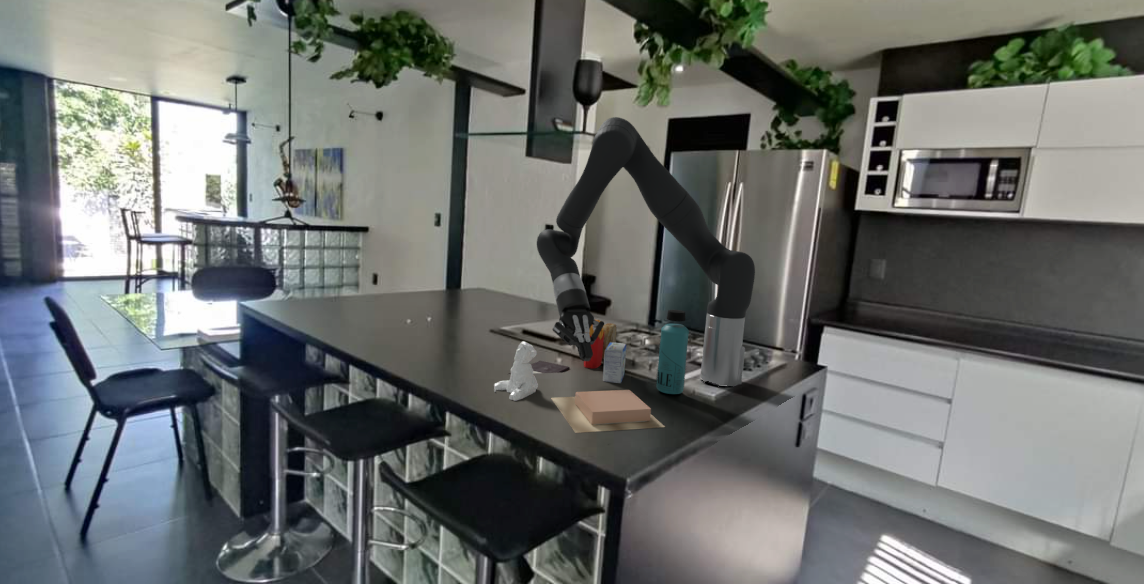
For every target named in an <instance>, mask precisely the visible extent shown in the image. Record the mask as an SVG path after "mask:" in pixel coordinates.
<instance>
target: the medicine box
mask: <svg viewBox="0 0 1144 584" xmlns="http://www.w3.org/2000/svg"><path fill="white" fill-rule="evenodd" d="M626 353H627V344H626V343H623V342H616V343H609V345H608V347H607V348H606V350H605V355H604V358H603V373H602V381H603V382H606V383H615V384H622V381H623V379H624V377H625V369H626V368H625V367H626V356H627V354H626Z"/></svg>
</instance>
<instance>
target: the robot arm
mask: <svg viewBox="0 0 1144 584" xmlns="http://www.w3.org/2000/svg"><path fill="white" fill-rule="evenodd" d="M592 141H593V142H592V144H591V145H592V146H591V148H590V152H589V155H588V159H587V162H586V164H585V167H584V169H583V171H582V173H581V176H580V177H579V179H578V181H577V183H576V184H575V185H574V187H573V188H572V190H571V191H570V192H569V194H568V196H567V198H566V199H565V201H564V203H563V205H562V206H561V209H560V210H559V212H558V214H557V216H556V219H555V223H556V226H557V227H558V228H559V229H560V230H555V229H550V228H549V229H548V228H547V229H544V230H542V231H540V233H539V234H538V235H537V239H536V249H537V251H538V255H539V256H540V257H539V258H540V259H541V260H542V261H543V263H544V265H545V267H546V268H547V270H548V271H549V273H550V277H551V282H552V286H553V294H554V298H555V302H556V306H557V311H558V315H559V319H558V321H556V322H555V323H554V325H553V327H552V331H553V332H554V333H555V334H556V335H557V336H558V337H560V339H561V340H562V341H564V342H565V343H566V344H567V345H568V346H570V347H571V346H575V347H576V348H577V352H578V356H579V359H581V360H582V362H584V361H590V359H591V358H592V356H593V351H592V348H591V345H592V344H593V343H594V342H595V340H596V339H597V337H598V335H599V333H600V331H601V330H602V328H603V326H604V325H605V322H604V321H602V320H600V322H598V321H596V320H597V319H596V318H595V316H594V314H592V312H591V306H590V303H589V299H588V295H587V290H586V289H585V288H586V287H585V286H584V283H583V280H582V277H581V275H580V274H581V273H580V271H579V268H578V264H577V261H575V260H574V259H573V258H572V257H574V256H575V255H576V254H577V251H578V247H579V242H580V239H581V235H582V232H583V228H584V227H585V226H586V224H587V222H588V220H589V219H590V217H591V215H592V213H593V212H594V210H595V207H596V206H597V204H598V202H599V200H600V198H601V196H602V195H603V193H604V191H605V190H606V188H607V187H608V186H609V184H610V182H611V181H612V180H613V179H614V178H615V176H616V175H617V174H618V173H619V172H620V171H621V170H622V168H623V169H624V170H625V171H627V173H628V174H629V175H630V176H631V178H632V179H633V180H634V182H635V185H636V186H637V188H638V190H639V192H640V195H641V196H642V199H643V201H644V202H645V204H646V206H647V207H648V210H649V211H650V212H651V213H652V215H653V216H654V217H655V218H656V219H657V220H658V222H659V223H660V224H661V225H662V226H663V227H664V229H666V230H667V231H668V232H669V233H670V234H671V235H672V237H674V238H675V240H677V242H679V243H680V245H682V246H683V247H684V248H685V249H686V250H687V251H688V252H689V254H690V255H691V256H692V258H694V260H695V262H696V263H697V264H698V265H699V267H700V269H701V270H702V271H703V273H704V274H705V276H706V277H707V278H708V279H709V280H710V281H711V282H712V283H713V284H715V285H717V286H718V287H717V288H718V289H717V294H716V296H715V299H713V300H710V301H709V302H708V303H707V308H706V309H707V310H706V318H705V329H704V336H703V337H704V339H703V348H702V358H701V365H700V366H701V367H700V376H701V378H702V379H703V380H704V381H709V382H712V383H716V384H720V385H727V386H733V387H736V386H738V385H742V380H743V372H744V365H745V364H744V363H745V354H746V348H745V346H743V340H744V329H745V323H746V322H745V320H746V314H747V310H748V309H749V307H750V305H751V301H752V295H753V291H754V290H753V289H754V284H755V278H756V277H755V276H756V266H755V263H754V260H753V258H752V256H750V254H748V253H746V252H742V251H738V250H733V249H732V250H731V249H729V248H727V247H726V246H724V245H723V243H721V242H720V241H719V240H718V239H717V238H716V237H715V235H714V234H712V232H711V231H710V229H709V227H708V225H707V222H706V219H705V217H704V214H703V211H702V209H701V207H700V205H699V204H698V202H696V200H695V199H694V197H692V196H691V194H690V193H689V192H688V191H687V190H686V189H685V188H684V187H683V186H682V185H681V184H680V183H679V181H678V180H677V179H676V178H675V176H673V175H672V173H671V172H670V171H669V170H668V168H666V167H665V166H664V164H662V162H660V161H659V159H658V158H657V157H656V156H655V154H654V153H653V152H652V151H651V149H650V147H649V146H648V144H647V143H646V141H645V140H644V139H643V138H642V136H641V134H640V133H639V131H638V130H637V129H636V127H635V126H634V125H633V123H631V122H630V121H629V120H626V119H625V118H622V117H619V116H618V117H617V116H614V117H609V118H607V119H606V120H604V121H603V122H602V124H601V125H600V127H599V128H598V130H597V132H596V133H595V135H594V137H593V139H592ZM595 319H596V320H595ZM591 325H593V330H594V332H593V334H592V336H591V337H590V335H589V333H590V330H589V329H590V327H591Z"/></svg>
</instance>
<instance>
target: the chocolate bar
mask: <svg viewBox="0 0 1144 584" xmlns="http://www.w3.org/2000/svg"><path fill="white" fill-rule="evenodd" d="M530 364H531V365H532V369H533V373H534V374H556V373H558V374H559V373H561V374H562V373H563V372H566V371H568V370H570V366H568V365H567V366H566V365H564V364H558V363H553V362H549V361H545V360H544V361H543V360H537V361H535V362H534V363H530ZM508 375H511V372H508Z"/></svg>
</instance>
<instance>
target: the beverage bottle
mask: <svg viewBox="0 0 1144 584" xmlns="http://www.w3.org/2000/svg"><path fill="white" fill-rule="evenodd" d="M666 320H667V321H672V322H686V311H684V310H680V309H668V311H667V316H666ZM689 333H690V331H689V329H688V328H687V327H686V325H683V324H680V323H666V324H664V325H663V326H662V327H661V329H660V338H659V339H660V340H659V346H658V347H659V349H658V362H657V369H656V370H657V372H656V377H655V378H656V379H655V383H656V385H655V386H656V390H657V391H659V392H661V393H664V394H667V395H668V394H669V395H680V394H682V393H683V391H684V389H685V384H686V383H685V380H686V369H687V366H686V364H687V355H688V342H689Z"/></svg>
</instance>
